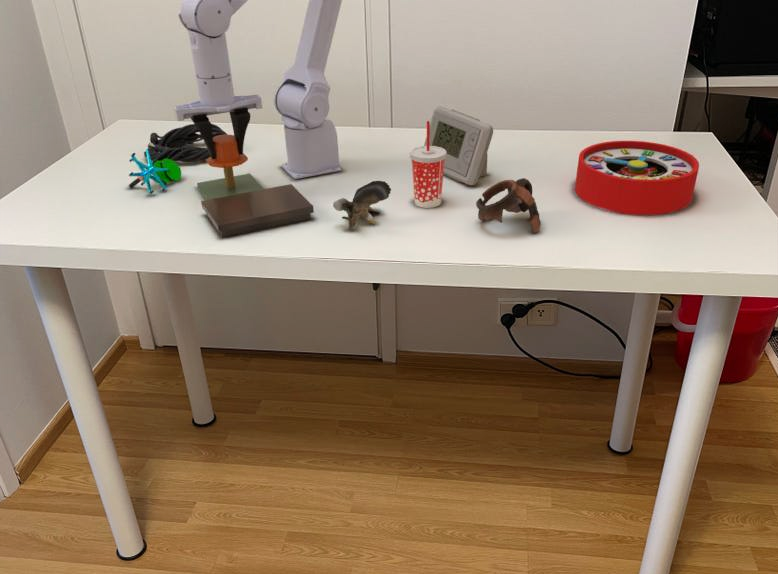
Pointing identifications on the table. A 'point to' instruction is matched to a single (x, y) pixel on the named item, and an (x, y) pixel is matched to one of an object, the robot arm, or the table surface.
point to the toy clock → (636, 177)
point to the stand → (257, 210)
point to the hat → (226, 152)
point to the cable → (180, 144)
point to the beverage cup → (428, 173)
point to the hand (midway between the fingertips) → (226, 155)
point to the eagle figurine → (363, 202)
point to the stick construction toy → (155, 172)
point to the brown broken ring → (509, 202)
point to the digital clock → (461, 144)
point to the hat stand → (228, 185)
